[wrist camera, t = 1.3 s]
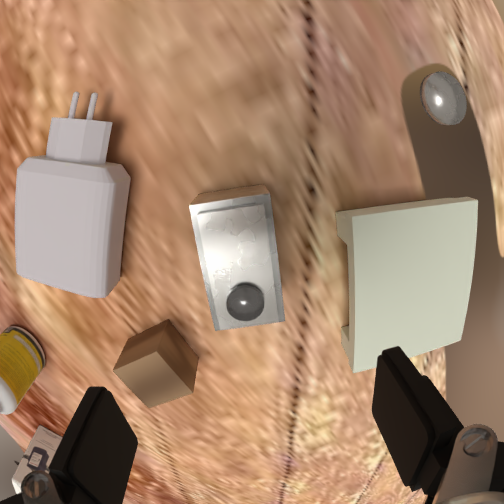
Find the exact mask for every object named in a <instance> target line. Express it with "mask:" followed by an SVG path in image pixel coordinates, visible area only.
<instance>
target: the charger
mask: <svg viewBox="0 0 504 504" xmlns="http://www.w3.org/2000/svg"><path fill="white" fill-rule="evenodd" d="M97 97H98V94H97V93H92V95H91V100H90V104H89V108H88V113H87V118H86V120H85V119H74V116H75V112H76V107H77V102H78V98H79V92H74V93H73V98H72V102H71V107H70V111H69V116H68V118H52V120H51V125H50V131H49V137H48V144H47V151H46V155H43V156H34V157H28V158H27V159H26V160H25V161H24V162H23V163H22V164H21V165H20V166H19V168H18V169H17V180H16V197H15V252H16V269H17V273H18V274H19V275H20V276H22V277H24V278H27V279H30V280H33V281H36V282H39V283H42V284H46V285H49V286H52V287H55V288H59V289H62V290H65V291H69V292H72V293H76V294H79V295H83V296H87V297H93V298H104V297H106V296H108V294H109V293H110V292H111V291H112V289H113V288H114V287H115V286H116V284H117V283H118V282H119V281H120V269H121V256H122V245H123V235H124V225H125V217H126V209H127V201H128V194H129V187H130V181H131V177H130V176H129V175H128V173H127V172H126V170H125V169H124V167H123V166H122V165H121V164H116V163H110V162H105V161H106V155H107V149H108V144H109V138H110V133H111V128H112V123H113V122H105V121H96V120H93V115H94V110H95V106H96V101H97Z"/></svg>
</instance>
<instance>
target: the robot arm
mask: <svg viewBox="0 0 504 504" xmlns="http://www.w3.org/2000/svg"><path fill="white" fill-rule="evenodd" d="M372 414H373V417H374V419H375V421H376V423H377V426H378V428H379V430H380V432H381V434H382V436H383V439H384V441H385V443H386V445H387V448H388V450H389V452H390V454H391V456H392V459H393V461H394V463H395V466H396V468H397V470H398V472H399V475H400V477H401V479H402V482H403V484H404V485H405V486H406V487H407V486H410V488H411V490H412V492H413V491H416V490H418V489H420V488H422V490H423V492H424V494H426V497H425V500H424V502H423V504H504V442H498V440H497V436H496V433H495V432H494V431H493V430H492V429H491V428H489V427H488V426H485V425H482V424H473V425H469V426H467V427H465V428H464V427H463V425H462V424H461V422H460V421H459V419H458V418H457V416H456V415H455V414H454V412H453V411H452V409H451V408H450V407H449V405H448V404H447V402H446V401H445V400H444V398H443V397H442V395H441V394H440V393H439V391H438V390H437V388H436V387H435V386H434V384H433V383H432V382H431V380H430V379H429V378H428V377H427V376H425V375H423V376H421V374H420V373H419V372H418V370H417V369H416V368H415V366H414V365H413V363H412V362H411V361H410V359H409V358H408V357H407V355H406V354H405V353H404V351H403V350H402V349H401V348H400V347H399V346H396V347H392V348H388V349H385V350H383V351H382V354H381V355H379V356H378V357H377V367H376V377H375V386H374V395H373V403H372ZM137 445H138V440H137V437H136V435H135V434H134V432H133V430H132V429H131V427H130V425H129V424H128V422H127V420H126V419H125V417H124V415H123V413H122V412H121V410H120V408H119V406H118V404H117V403H116V401H115V399H114V397H113V395H112V393H111V392H110V391H107V389H106V388H105V387H89V388H88V389H87V391H86V393H85V395H84V397H83V399H82V400H81V402H80V404H79V406H78V408H77V410H76V412H75V414H74V416H73V418H72V420H71V422H70V424H69V426H68V428H67V430H66V432H65V434H64V436H63V438H62V440H61V442H60V444H59V446H58V448H57V450H56V452H55V454H54V456H53V459H52V461H51V463H50V465H49V467H48V468H49V470H50V471H49V474H48V473H47V472H45V471H42V470H36V471H32V472H30V473H29V474H27V475H26V476H25V477H24V479H23V481H22V483H21V492H20V493H18V494H16V495H14V496H12V497H9V498H7V499H5V500H2V501H0V504H122V503H123V499H124V495H125V491H126V487H127V483H128V479H129V475H130V472H131V468H132V464H133V460H134V457H135V453H136V449H137Z"/></svg>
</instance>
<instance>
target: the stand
mask: <svg viewBox="0 0 504 504" xmlns="http://www.w3.org/2000/svg"><path fill="white" fill-rule="evenodd" d="M477 211H478V200H476V199H472V198H469V197H462V198H452V197H450V198H440V199H433V200H423V201H415V202H407V203H399V204H391V205H383V206H376V207H368V208H361V209H353V210H346V211H339V212H336V224H337V236H338V237H339V238H341V239H342V240H343V241H344V242H345V243H346V244H347V252H348V276H349V326H345V327H341V344H342V346H343V348H344V350H345V352H346V355H347V357H348V359H349V365H350V367H351V369H352V371H353V373H356V372H361V371H364V370H368V369H372V368H376V367H377V357H378V356H379V355H381V354H382V351H383V350H385V349H388V348H392V347H396V346H399V347H400V348H401V349H402V350H403V351H404V353H405V354H406V355H407V357H408V358H411V357H414V356H417V355H420V354H423V353H426V352H429V351H432V350H435V349H438V348H441V347H444V346H446V345H449V344H452V343H455V342H457V341H460V340H461V336H462V332H463V327H464V322H465V317H466V312H467V307H468V301H469V295H470V289H471V282H472V273H473V266H474V257H475V245H476V233H477Z"/></svg>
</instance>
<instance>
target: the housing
mask: <svg viewBox="0 0 504 504" xmlns="http://www.w3.org/2000/svg"><path fill="white" fill-rule="evenodd" d="M189 208H190V214H191V219H192V224H193V230H194V235H195V240H196V245H197V250H198V255H199V260H200V264H201V269H202V274H203V279H204V283H205V288H206V292H207V297H208V302H209V306H210V310H211V315H212V319H213V323H214V328H215V331H217V330H226V329H234V328H242V327H249V326H256V325H263V324H270V323H276V322H283V321H285V315H284V306H283V297H282V288H281V279H280V270H279V261H278V253H277V245H276V236H275V228H274V220H273V212H272V204H271V197H270V193H269V191H268V190H267V188H266V187H265V186H264V184H260V185H253V186H246V187H239V188H233V189H226V190H220V191H214V192H207V193H201V194H198V196H197V197H196V198H195V199H194V200H193V202H192V203H191V204H190V205H189Z"/></svg>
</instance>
